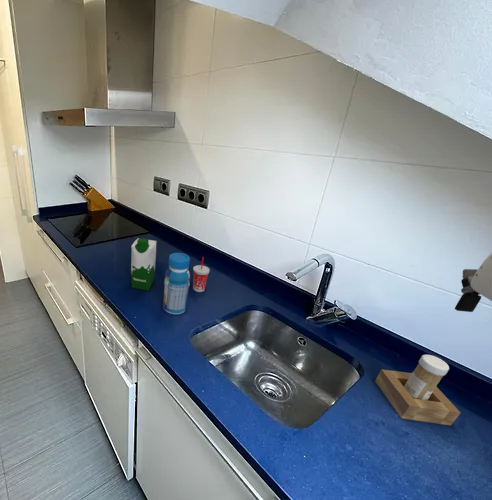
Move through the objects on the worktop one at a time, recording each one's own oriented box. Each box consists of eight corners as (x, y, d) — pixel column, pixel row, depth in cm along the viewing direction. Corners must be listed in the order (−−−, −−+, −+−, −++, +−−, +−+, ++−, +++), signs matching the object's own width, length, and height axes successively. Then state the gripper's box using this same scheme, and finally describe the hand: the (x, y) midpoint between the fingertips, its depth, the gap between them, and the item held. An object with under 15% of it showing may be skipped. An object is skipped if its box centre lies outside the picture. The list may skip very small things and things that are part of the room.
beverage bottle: (174, 318, 94) (179, 265, 86) (157, 306, 100) (160, 255, 92) (191, 309, 99) (198, 258, 91) (174, 298, 105) (179, 249, 97)
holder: (417, 387, 73) (425, 374, 71) (450, 426, 64) (460, 412, 62) (374, 381, 74) (381, 369, 72) (401, 418, 65) (409, 405, 63)
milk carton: (128, 288, 110) (129, 240, 101) (135, 277, 118) (136, 232, 109) (150, 292, 108) (153, 244, 99) (156, 280, 116) (159, 235, 107)
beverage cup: (203, 295, 107) (208, 262, 102) (188, 290, 110) (192, 258, 104) (208, 287, 112) (213, 256, 106) (194, 283, 115) (198, 252, 109)
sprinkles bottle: (426, 413, 66) (455, 372, 61) (402, 407, 68) (429, 366, 62) (415, 397, 70) (442, 356, 65) (393, 391, 72) (418, 351, 66)
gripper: (626, 274, 43) (554, 359, 50) (508, 233, 58) (466, 302, 66) (567, 270, 44) (505, 354, 51) (467, 230, 59) (430, 299, 66)
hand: (484, 325), depth 58 cm, fingers open, 9 cm apart
